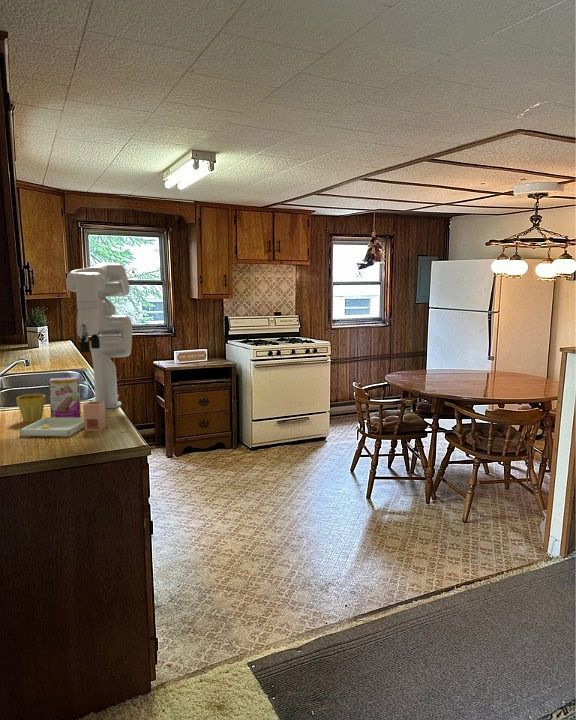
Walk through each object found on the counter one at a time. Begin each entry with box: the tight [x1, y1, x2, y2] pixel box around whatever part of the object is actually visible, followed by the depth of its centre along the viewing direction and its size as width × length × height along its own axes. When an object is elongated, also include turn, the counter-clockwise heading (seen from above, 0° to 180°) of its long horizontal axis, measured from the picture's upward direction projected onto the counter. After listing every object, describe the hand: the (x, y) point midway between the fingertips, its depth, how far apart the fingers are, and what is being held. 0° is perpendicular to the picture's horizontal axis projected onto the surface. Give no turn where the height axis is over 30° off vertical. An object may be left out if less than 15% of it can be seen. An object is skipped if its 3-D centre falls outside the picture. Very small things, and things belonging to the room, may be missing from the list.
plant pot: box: [16, 393, 47, 423], centre depth 208 cm, size 10×10×10 cm
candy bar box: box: [48, 377, 82, 418], centre depth 211 cm, size 11×5×16 cm, turn 108°
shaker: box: [82, 400, 108, 432], centre depth 195 cm, size 6×6×10 cm
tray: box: [19, 416, 85, 438], centre depth 194 cm, size 18×18×2 cm
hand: (90, 350), depth 201 cm, fingers open, 9 cm apart
